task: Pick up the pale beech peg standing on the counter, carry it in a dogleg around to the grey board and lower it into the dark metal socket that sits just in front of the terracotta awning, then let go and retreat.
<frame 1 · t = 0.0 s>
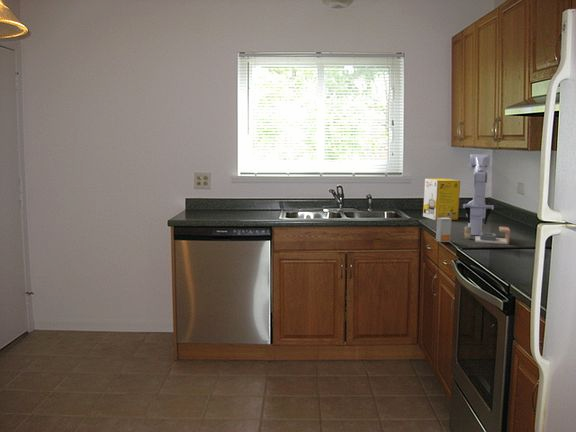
hand: (477, 223, 303), 10 cm above the worktop, tool pointing down, fingers open, 7 cm apart
peg: (467, 238, 318), on the worktop
skincare box: (442, 241, 307), on the worktop
packaging box: (440, 218, 394), on the worktop
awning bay: (491, 241, 311), on the worktop
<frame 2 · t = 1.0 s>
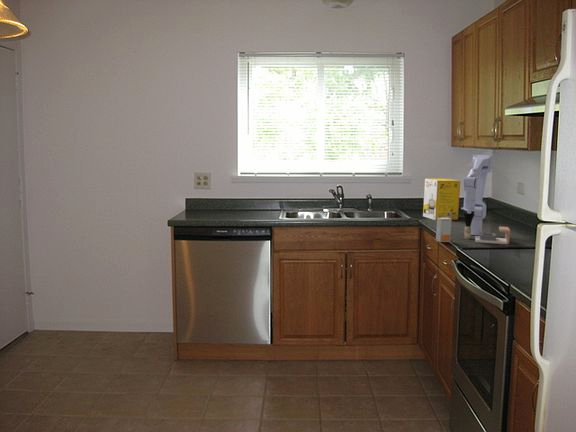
hand: (468, 225, 317), 7 cm above the worktop, tool pointing down, fingers open, 7 cm apart
nothing on the worktop moved.
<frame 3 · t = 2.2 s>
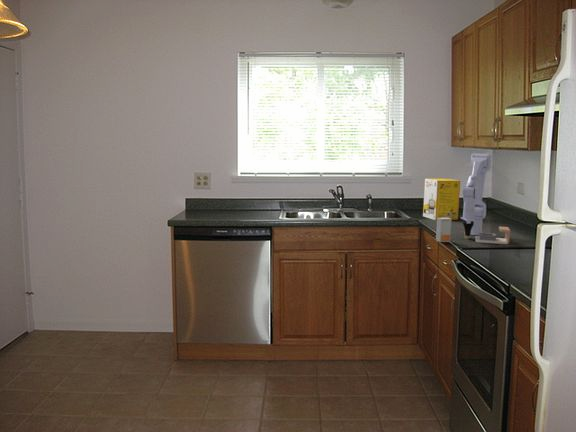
hand: (467, 235, 318), 2 cm above the worktop, tool pointing down, fingers closed on peg, 3 cm apart
peg: (467, 238, 318), on the worktop, touching gripper
everything else where it was.
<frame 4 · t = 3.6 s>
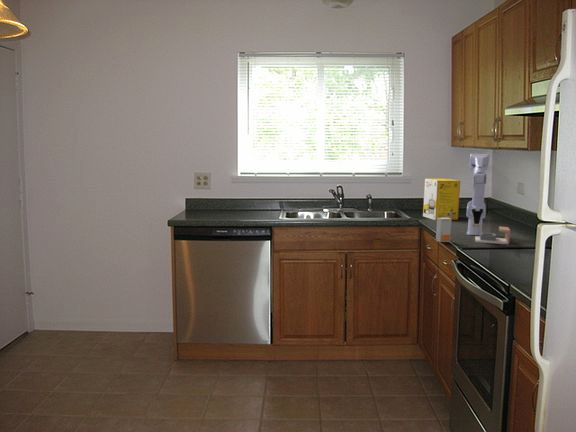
hand: (476, 223, 311), 9 cm above the worktop, tool pointing down, fingers closed on peg, 3 cm apart
peg: (476, 226, 312), point 7 cm above the worktop, touching gripper
everything else where it was.
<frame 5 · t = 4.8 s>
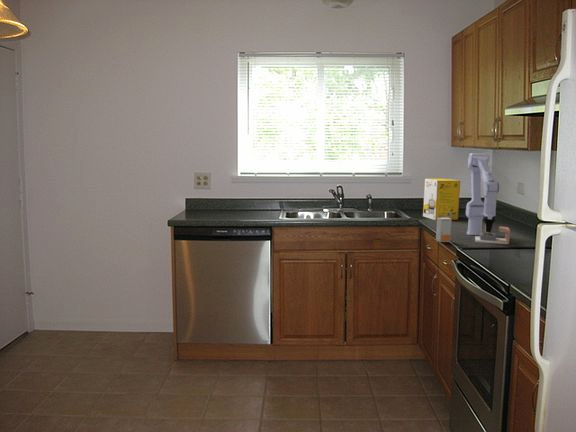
hand: (488, 231, 311), 5 cm above the worktop, tool pointing down, fingers closed on peg, 3 cm apart
peg: (487, 234, 311), point 3 cm above the worktop, touching gripper
everything else where it was.
when the fingers open (4 cm above the worktop, at t = 5.4 s): peg drops 1 cm, resting on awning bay.
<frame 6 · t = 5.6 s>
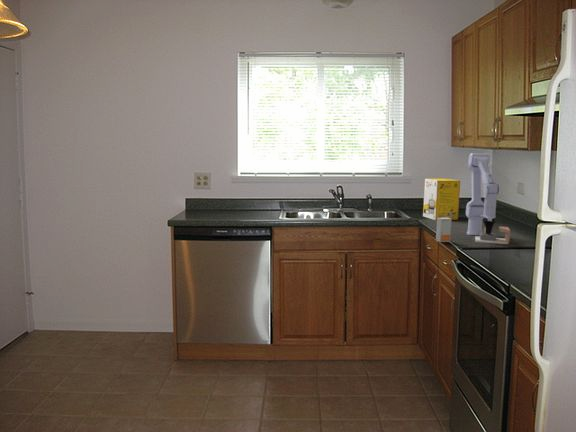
hand: (488, 233, 311), 4 cm above the worktop, tool pointing down, fingers open, 5 cm apart
peg: (487, 238, 312), point 1 cm above the worktop, touching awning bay
everything else where it was.
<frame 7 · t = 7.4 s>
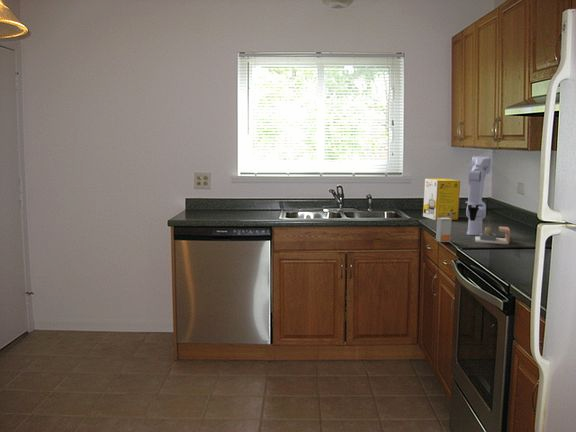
hand: (472, 219, 317), 10 cm above the worktop, tool pointing down, fingers open, 7 cm apart
nothing on the worktop moved.
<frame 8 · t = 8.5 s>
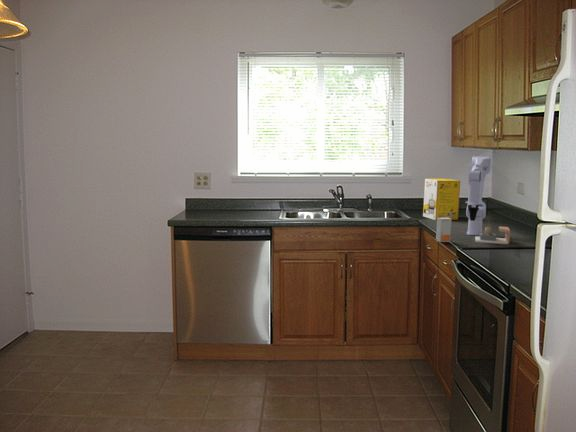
hand: (472, 219, 317), 10 cm above the worktop, tool pointing down, fingers open, 7 cm apart
nothing on the worktop moved.
at the end: peg 0.1 cm from the target spot on the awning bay, point 1.0 cm above the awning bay's base; peg tilted 1°; the gripper is holding nothing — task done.
